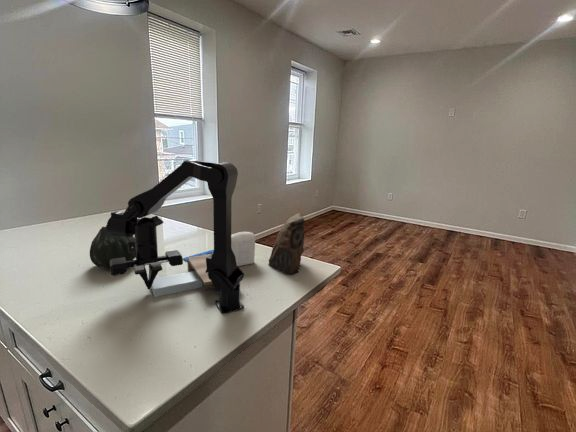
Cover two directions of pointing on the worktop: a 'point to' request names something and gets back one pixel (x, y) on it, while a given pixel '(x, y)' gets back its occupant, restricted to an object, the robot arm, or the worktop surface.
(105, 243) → the squash
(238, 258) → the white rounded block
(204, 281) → the tan cardboard box
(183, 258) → the handheld gaming device
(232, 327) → the worktop surface
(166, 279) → the pale blue eraser
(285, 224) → the owl
